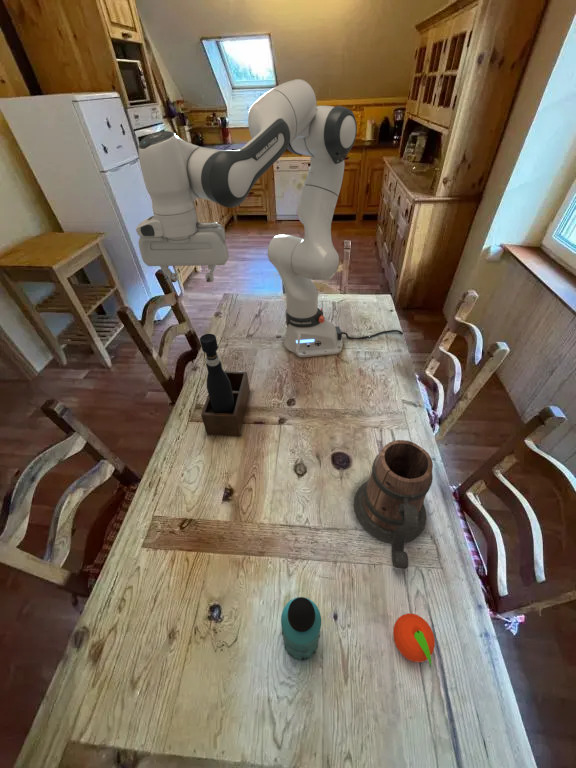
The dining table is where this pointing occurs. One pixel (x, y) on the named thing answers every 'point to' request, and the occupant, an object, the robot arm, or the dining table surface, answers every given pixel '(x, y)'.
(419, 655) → the clementine
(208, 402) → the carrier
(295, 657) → the beverage bottle
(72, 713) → the dining table surface
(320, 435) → the dining table surface
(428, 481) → the tankard
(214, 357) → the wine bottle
